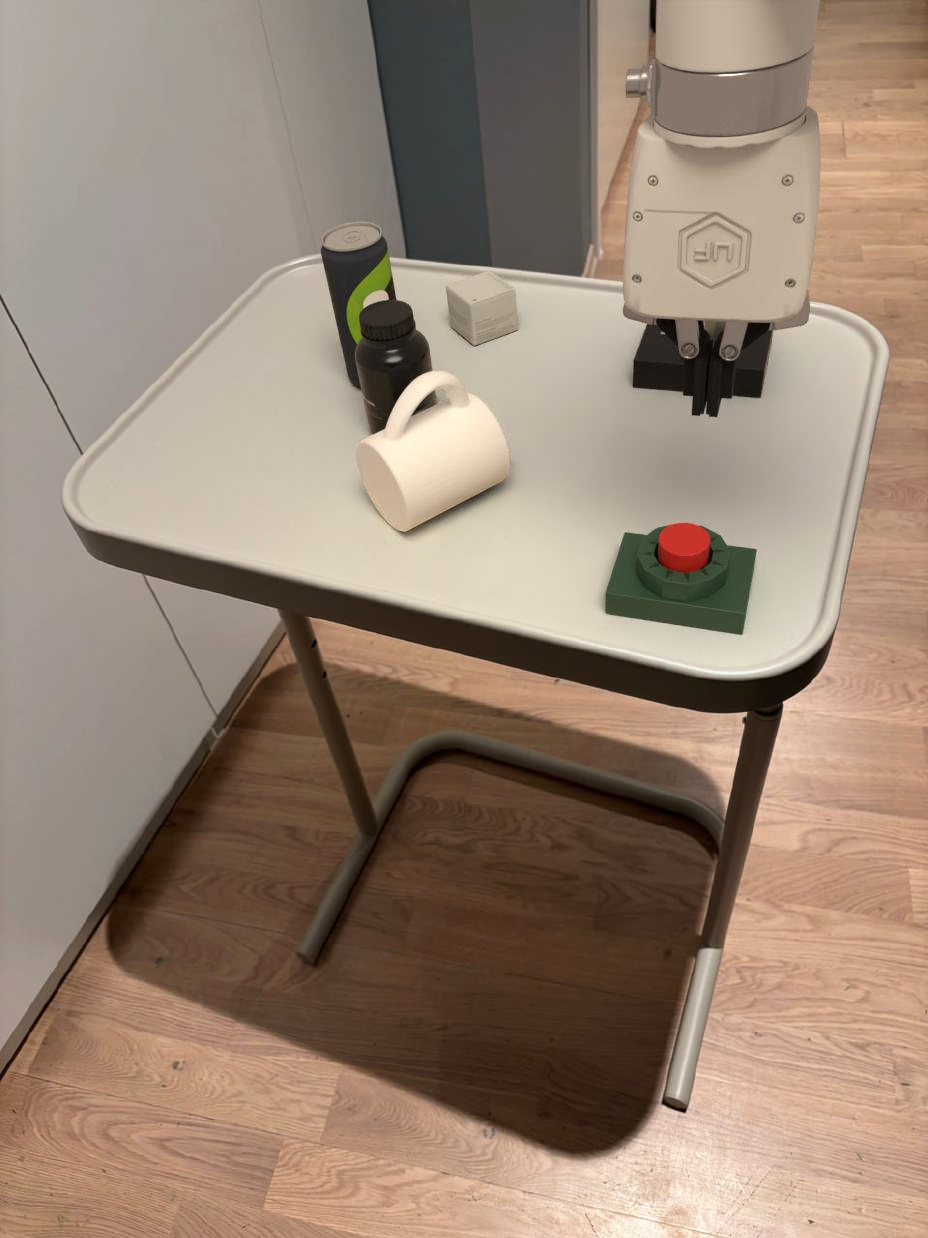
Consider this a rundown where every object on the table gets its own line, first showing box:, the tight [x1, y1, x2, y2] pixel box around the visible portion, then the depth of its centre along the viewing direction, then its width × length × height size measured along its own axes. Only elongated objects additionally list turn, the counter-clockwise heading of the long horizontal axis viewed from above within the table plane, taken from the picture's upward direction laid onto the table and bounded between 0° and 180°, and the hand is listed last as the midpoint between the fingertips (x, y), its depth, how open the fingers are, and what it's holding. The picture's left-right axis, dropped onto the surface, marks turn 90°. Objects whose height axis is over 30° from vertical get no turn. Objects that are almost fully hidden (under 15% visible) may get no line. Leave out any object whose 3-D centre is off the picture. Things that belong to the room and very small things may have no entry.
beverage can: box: [320, 221, 397, 389], centre depth 92 cm, size 6×6×15 cm
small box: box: [445, 270, 519, 347], centre depth 100 cm, size 6×6×5 cm
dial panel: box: [632, 324, 774, 398], centre depth 91 cm, size 12×10×3 cm
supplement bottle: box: [355, 299, 438, 435], centre depth 86 cm, size 7×7×12 cm
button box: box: [604, 524, 758, 635], centre depth 70 cm, size 10×7×4 cm
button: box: [658, 522, 710, 573], centre depth 68 cm, size 4×4×2 cm
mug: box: [355, 370, 511, 532], centre depth 78 cm, size 8×10×12 cm
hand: (707, 404), depth 60 cm, fingers closed
